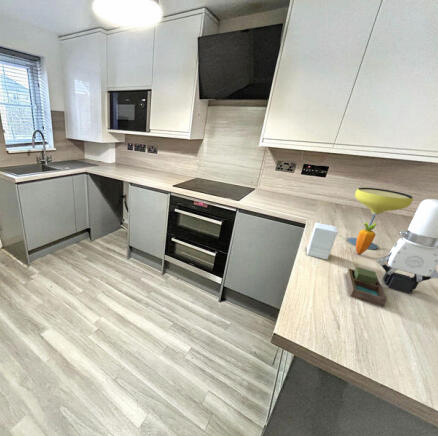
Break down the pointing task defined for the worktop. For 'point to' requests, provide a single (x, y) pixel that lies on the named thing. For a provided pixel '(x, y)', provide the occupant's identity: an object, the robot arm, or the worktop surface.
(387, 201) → the cocktail glass
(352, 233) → the worktop surface
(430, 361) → the worktop surface
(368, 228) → the carrot
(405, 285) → the dark grey block
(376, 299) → the brown divided tray
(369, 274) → the olive green block
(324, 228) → the white packaging box
